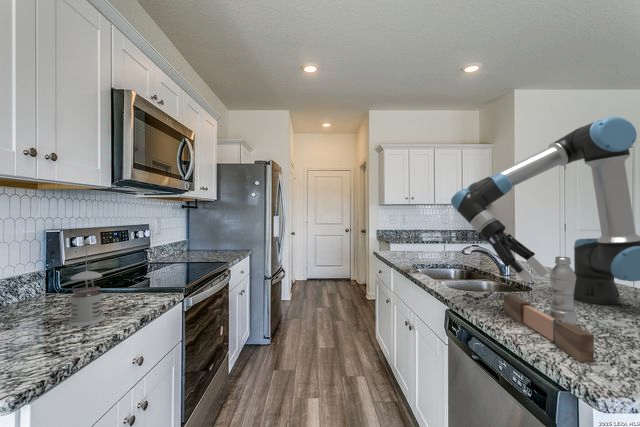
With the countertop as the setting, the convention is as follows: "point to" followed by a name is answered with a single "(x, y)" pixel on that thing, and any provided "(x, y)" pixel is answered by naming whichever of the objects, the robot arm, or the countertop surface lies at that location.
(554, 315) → the plastic bottle
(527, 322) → the gate
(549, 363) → the countertop surface
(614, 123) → the robot arm
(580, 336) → the row of wooden blocks
